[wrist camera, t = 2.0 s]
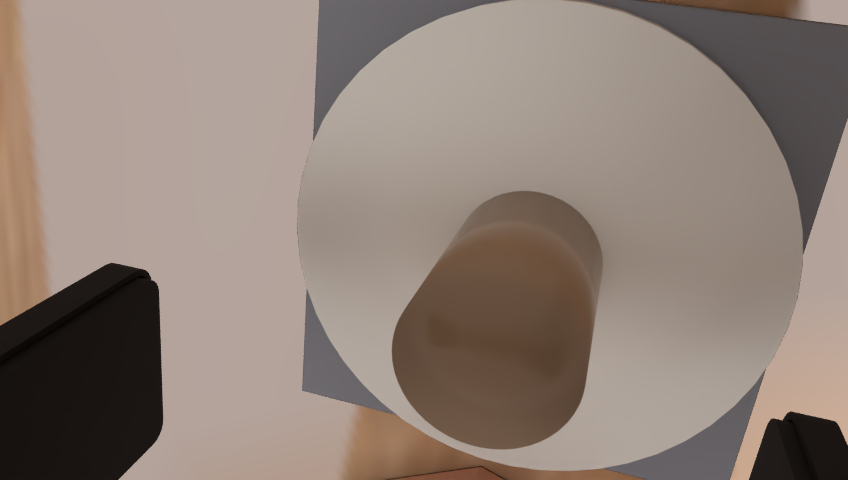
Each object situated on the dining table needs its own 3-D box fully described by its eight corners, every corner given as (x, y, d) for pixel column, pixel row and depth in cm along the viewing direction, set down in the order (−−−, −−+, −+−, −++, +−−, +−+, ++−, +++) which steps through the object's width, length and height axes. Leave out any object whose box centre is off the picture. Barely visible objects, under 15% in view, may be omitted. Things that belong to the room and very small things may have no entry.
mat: (329, -38, 16) (320, -38, 16) (868, 27, 14) (876, 30, 14) (309, 380, 21) (302, 390, 20) (721, 486, 18) (723, 499, 18)
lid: (722, -91, 14) (763, -115, 9) (843, 408, 16) (927, 606, 11) (246, 94, 18) (89, 149, 13) (405, 471, 20) (327, 638, 15)
